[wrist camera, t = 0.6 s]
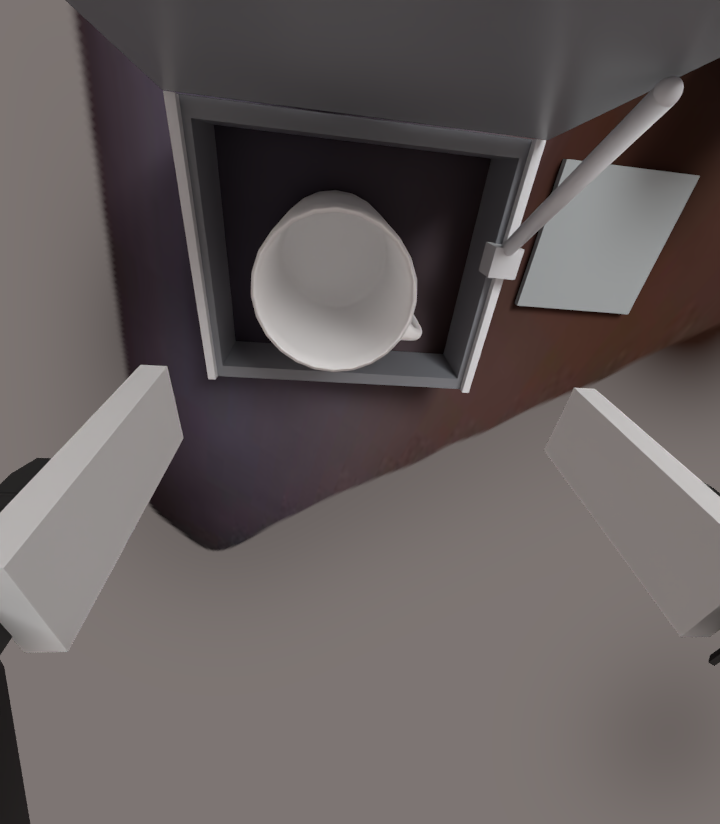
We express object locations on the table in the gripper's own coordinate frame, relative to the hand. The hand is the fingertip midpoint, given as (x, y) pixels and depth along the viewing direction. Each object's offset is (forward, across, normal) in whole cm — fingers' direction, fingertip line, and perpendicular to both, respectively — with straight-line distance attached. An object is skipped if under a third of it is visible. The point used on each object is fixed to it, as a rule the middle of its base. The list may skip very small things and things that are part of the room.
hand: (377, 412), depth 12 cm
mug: (+23, 0, 0) cm, 23 cm away
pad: (+22, +21, +3) cm, 31 cm away
